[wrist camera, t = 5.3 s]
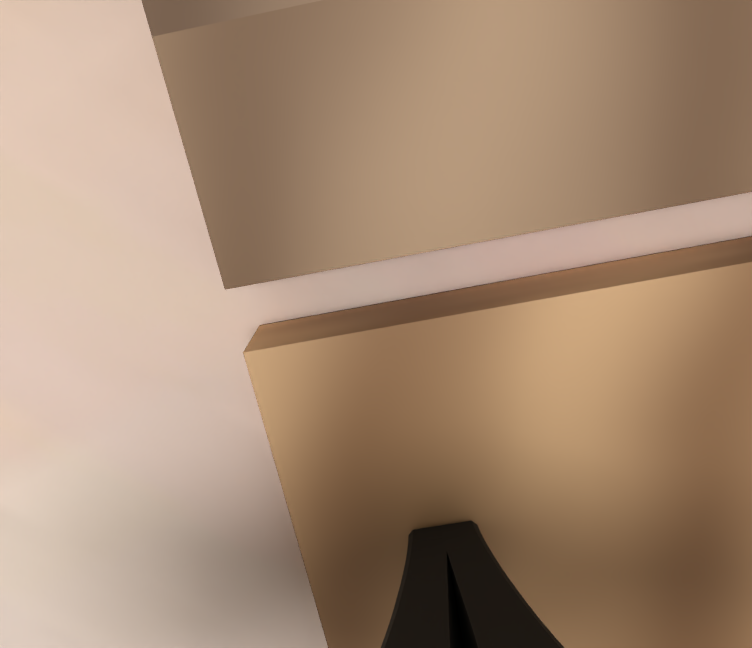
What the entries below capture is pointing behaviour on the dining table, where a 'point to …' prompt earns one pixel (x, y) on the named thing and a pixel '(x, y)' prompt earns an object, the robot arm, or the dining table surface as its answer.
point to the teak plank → (531, 445)
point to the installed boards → (446, 119)
